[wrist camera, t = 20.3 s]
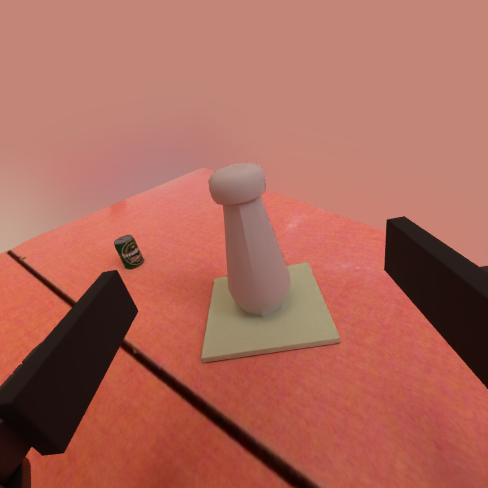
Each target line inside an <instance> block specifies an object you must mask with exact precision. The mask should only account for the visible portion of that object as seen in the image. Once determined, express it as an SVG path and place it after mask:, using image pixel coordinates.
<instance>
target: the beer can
mask: <svg viewBox="0 0 488 488" xmlns="http://www.w3.org/2000/svg"><path fill="white" fill-rule="evenodd" d="M114 244H115V248H116V250H117V252H118V254H119V256H120V258H121V260H122V262H123V264H124V266H125V267H126V268H128V269H132V268H136V267H138V266H139V265H141V264H142V263H143V260H144V259H143V257H142V255H141V252H140V250H139V248H138V246H137V244H136V241H135V240H134V238H133V236H132V235H126V236H122V237H120V238H118V239H116V240H115V241H114Z"/></svg>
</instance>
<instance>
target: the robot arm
mask: <svg viewBox="0 0 488 488" xmlns="http://www.w3.org/2000/svg"><path fill="white" fill-rule="evenodd" d="M384 270H385V271H386V272H387V273H388V274H389V276H390V277H391V278H392V279H393V280H394V281H395V283H396V284H397V285H398V286H399V287H400V288H401V289H402V291H403V292H404V293H405V294H406V295H407V296H408V298H409V299H410V300H411V301H412V302H413V303H414V304H415V306H416V307H417V308H418V309H419V310H420V311H421V313H422V314H423V315H424V316H425V317H426V318H427V319H428V321H429V322H430V323H431V324H432V325H433V326H434V328H435V329H436V330H437V331H438V332H439V333H440V334H441V336H442V337H443V338H444V339H445V340H446V341H447V343H448V344H449V345H450V346H451V347H452V348H453V349H454V351H455V352H456V353H457V354H458V355H459V356H460V358H461V359H462V360H463V361H464V362H465V363H466V364H467V366H468V367H469V368H470V369H471V370H472V371H473V373H474V374H475V375H476V376H477V377H478V378H479V379H480V381H481V382H482V383H483V384H484V385H485V386H486V388H487V389H488V266H483V267H478V266H477V265H476V264H474V263H473V262H471V261H470V260H468V259H467V258H465V257H464V256H462V255H461V254H459V253H458V252H456V251H455V250H453V249H452V248H450V247H449V246H447V245H446V244H444V243H443V242H441V241H440V240H439V239H437V238H435V237H434V236H433V235H431V234H430V233H428V232H427V231H425V230H424V229H422V228H421V227H419V226H418V225H416V224H415V223H413V222H412V221H410V220H409V219H407V218H406V217H399V218H393V219H388V220H387V226H386V246H385V267H384ZM137 313H138V309H137V307H136V305H135V303H134V302H133V300H132V298H131V296H130V294H129V292H128V290H127V288H126V286H125V284H124V282H123V281H122V279H121V277H120V275H119V273H118V271H117V270H113V271H108V272H103V273H102V274H101V275H100V276H99V277H98V278H97V280H96V281H95V282H94V283H93V284H92V285H91V287H90V288H89V289H88V290H87V291H86V292H85V294H84V295H83V296H82V297H81V298H80V299H79V300H78V302H77V303H76V304H75V305H74V306H73V307H72V309H71V310H70V311H69V312H68V313H67V314H66V316H65V317H64V318H63V319H62V320H61V321H60V322H59V324H58V325H57V326H56V327H55V328H54V329H53V331H52V332H51V333H50V334H49V335H48V336H47V338H46V339H45V340H44V341H43V342H42V343H40V344H39V345H38V346H37V347H35V348H34V349H33V350H32V351H31V352H30V353H29V355H28V356H27V357H26V358H25V359H24V360H23V361H22V364H20V365H19V366H18V367H17V368H16V369H15V371H14V372H13V374H12V375H10V376H9V377H8V379H7V380H6V381H5V382H4V383H3V384H2V385H1V386H0V488H31V465H30V462H29V460H28V459H27V458H26V457H25V456H26V455H27V453H28V451H29V450H30V448H31V447H33V448H34V449H36V450H37V451H38V452H39V453H40V454H41V455H42V456H44V455H53V454H62V453H64V452H65V450H66V448H67V446H68V444H69V443H70V441H71V439H72V437H73V435H74V433H75V431H76V429H77V427H78V425H79V423H80V422H81V420H82V418H83V416H84V414H85V412H86V410H87V408H88V406H89V404H90V402H91V401H92V399H93V397H94V395H95V393H96V391H97V389H98V387H99V385H100V383H101V381H102V380H103V378H104V376H105V374H106V372H107V370H108V368H109V366H110V364H111V362H112V360H113V359H114V357H115V355H116V353H117V351H118V349H119V347H120V345H121V343H122V341H123V339H124V338H125V336H126V334H127V332H128V330H129V328H130V326H131V324H132V322H133V320H134V318H135V317H136V315H137Z"/></svg>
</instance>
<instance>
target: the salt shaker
mask: <svg viewBox="0 0 488 488" xmlns="http://www.w3.org/2000/svg"><path fill="white" fill-rule="evenodd" d="M265 188H266V183H265V175H264V172H263V170H262V167H260V166H259V165H257V164H255V163H238V164H233V165H229V166H226V167H223V168H221V169H219V170H217V171H215V172H213V174H212V175H211V177H210V179H209V190H210V193H211V196H212V198H213V200H214V201H215V202H216V203H217V204H221V205H223V211H224V224H225V241H226V258H227V275H228V289H229V291H230V294H231V295H232V297H233V299H234V300H235V302H236V303H237V304H238V305H239V306H240V307H241V308H242V309H243V310H244V311H245V312H246V313H249V314H253V315H257V316H261V317H265V316H267V315H269V314H271V313H273V312H275V311H278V310H280V309H281V308H282V304H283V301H284V298H285V296H286V294H287V292H288V290H289V288H290V282H291V281H290V274H289V270H288V268H287V265H286V262H285V260H284V257H283V254H282V252H281V249H280V246H279V244H278V241H277V238H276V236H275V233H274V230H273V228H272V225H271V223H270V220H269V217H268V215H267V212H266V209H265V207H264V204H263V201H262V199H261V195H262V194H263V193H264V192H265Z"/></svg>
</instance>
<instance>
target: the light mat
mask: <svg viewBox="0 0 488 488" xmlns="http://www.w3.org/2000/svg"><path fill="white" fill-rule="evenodd" d="M287 268H288V270H289V274H290V281H291V282H290V288H289V290H288V292H287V294H286V296H285V298H284V301H283V304H282V308H281V309H280V310H278V311H275V312H273V313H271V314H269V315H267V316H265V317H261V316H257V315H253V314H249V313H246V312H245V311H244V310H243V309H242V308H241V307H240V306H239V305H238V304H237V303H236V302H235V300H234V299H233V297H232V295H231V294H230V291H229V289H228V276H226V277H220V278H215V279H214V284H213V290H212V296H211V302H210V308H209V314H208V320H207V326H206V332H205V338H204V344H203V350H202V355H201V359H202V362H203V363H205V362H212V361H218V360H225V359H232V358H239V357H246V356H253V355H260V354H267V353H273V352H280V351H287V350H294V349H301V348H308V347H315V346H321V345H328V344H335V343H340V337H339V334H338V332H337V329H336V327H335V325H334V322H333V320H332V318H331V315H330V313H329V311H328V308H327V306H326V303H325V301H324V299H323V296H322V294H321V292H320V289H319V287H318V285H317V282H316V280H315V277H314V275H313V273H312V270H311V268H310V266H309V263H308V262H305V263H300V264H294V265H288V266H287Z"/></svg>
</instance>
